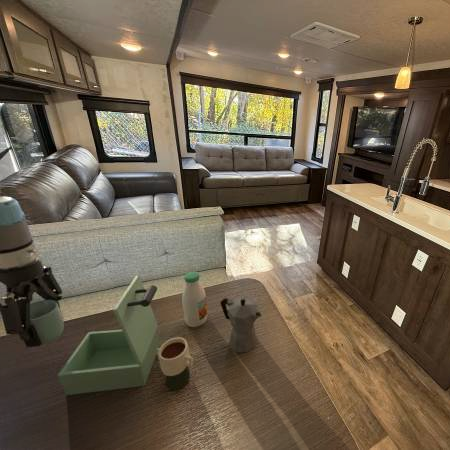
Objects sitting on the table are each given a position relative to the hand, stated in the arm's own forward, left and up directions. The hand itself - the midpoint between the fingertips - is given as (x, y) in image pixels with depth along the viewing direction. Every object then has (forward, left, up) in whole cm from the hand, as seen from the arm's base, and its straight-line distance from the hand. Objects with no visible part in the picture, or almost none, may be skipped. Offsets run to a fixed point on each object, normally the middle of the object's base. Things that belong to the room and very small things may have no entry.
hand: (46, 331), depth 68 cm
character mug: (+36, +2, -12) cm, 38 cm away
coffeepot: (+48, +19, -12) cm, 53 cm away
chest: (+17, +2, -12) cm, 21 cm away
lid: (+25, +5, +6) cm, 26 cm away
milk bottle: (+29, +24, -12) cm, 40 cm away
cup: (0, 0, -2) cm, 2 cm away
